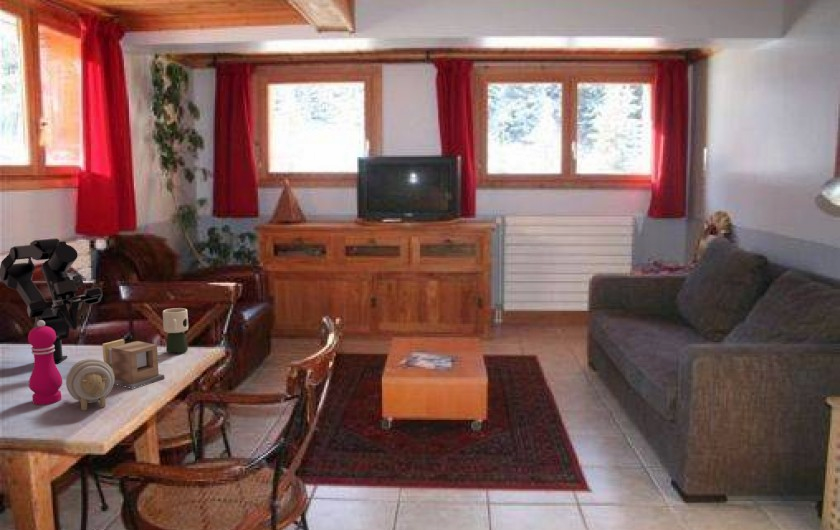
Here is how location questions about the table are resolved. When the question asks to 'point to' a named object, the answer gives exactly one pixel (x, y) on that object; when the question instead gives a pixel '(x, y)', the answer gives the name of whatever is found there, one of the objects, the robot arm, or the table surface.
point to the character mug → (176, 329)
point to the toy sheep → (90, 381)
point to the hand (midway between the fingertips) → (75, 329)
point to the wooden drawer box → (135, 364)
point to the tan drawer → (107, 346)
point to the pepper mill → (44, 366)
